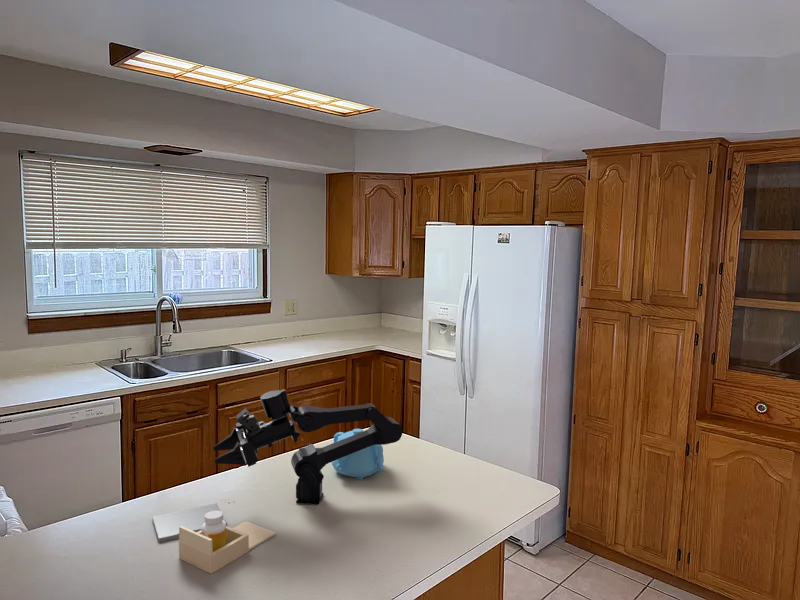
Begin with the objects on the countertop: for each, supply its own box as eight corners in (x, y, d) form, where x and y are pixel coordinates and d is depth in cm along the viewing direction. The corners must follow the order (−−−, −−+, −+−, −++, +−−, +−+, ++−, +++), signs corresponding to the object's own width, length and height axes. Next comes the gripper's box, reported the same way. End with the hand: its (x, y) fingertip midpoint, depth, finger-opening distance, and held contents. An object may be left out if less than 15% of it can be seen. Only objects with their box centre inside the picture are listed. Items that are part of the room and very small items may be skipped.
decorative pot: (329, 482, 170) (329, 439, 169) (332, 461, 186) (333, 421, 185) (383, 482, 171) (384, 439, 170) (382, 461, 187) (383, 421, 185)
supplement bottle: (231, 551, 132) (231, 511, 131) (216, 563, 127) (216, 521, 126) (212, 546, 133) (211, 507, 132) (196, 558, 128) (196, 517, 127)
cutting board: (216, 506, 153) (216, 503, 153) (227, 526, 143) (227, 522, 143) (152, 520, 145) (152, 516, 145) (158, 542, 135) (158, 538, 135)
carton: (245, 522, 145) (245, 494, 144) (276, 534, 139) (276, 505, 139) (179, 558, 128) (178, 526, 128) (211, 573, 123) (210, 540, 122)
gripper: (258, 396, 160) (203, 416, 155) (266, 415, 142) (204, 439, 138) (270, 431, 162) (216, 452, 157) (280, 454, 145) (219, 479, 140)
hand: (214, 455), depth 148 cm, fingers open, 9 cm apart
